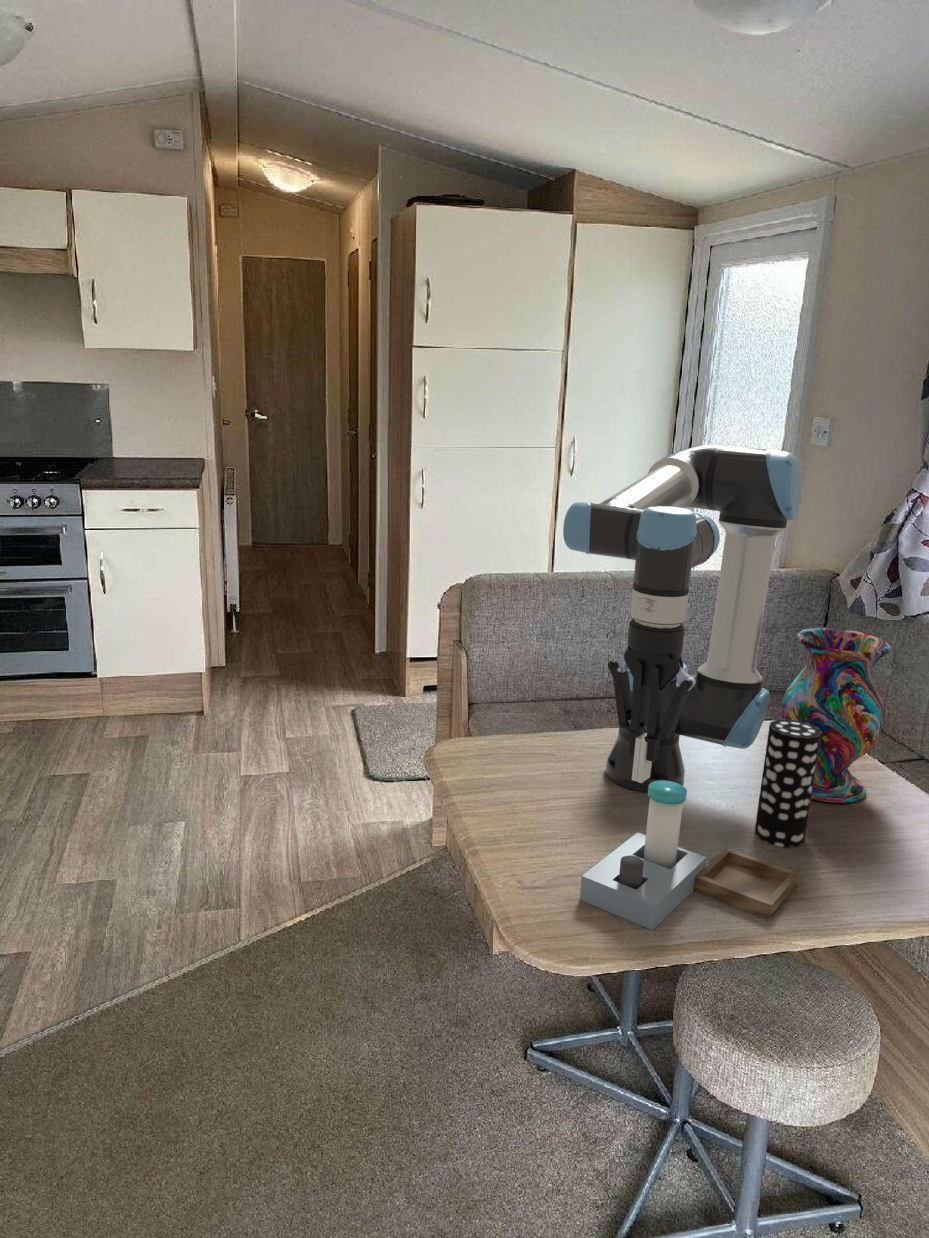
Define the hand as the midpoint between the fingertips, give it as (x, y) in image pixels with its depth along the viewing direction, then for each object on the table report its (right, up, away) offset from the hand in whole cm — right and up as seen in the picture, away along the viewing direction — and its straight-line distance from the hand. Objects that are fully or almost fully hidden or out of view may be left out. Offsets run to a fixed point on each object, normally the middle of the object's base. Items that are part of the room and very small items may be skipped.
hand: (640, 778), depth 136 cm
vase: (+44, -10, +49) cm, 67 cm away
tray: (+18, -19, +11) cm, 29 cm away
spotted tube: (+29, -15, +28) cm, 44 cm away
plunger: (-1, -17, +5) cm, 18 cm away
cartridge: (+5, -18, +13) cm, 23 cm away
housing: (+2, -19, +9) cm, 21 cm away
